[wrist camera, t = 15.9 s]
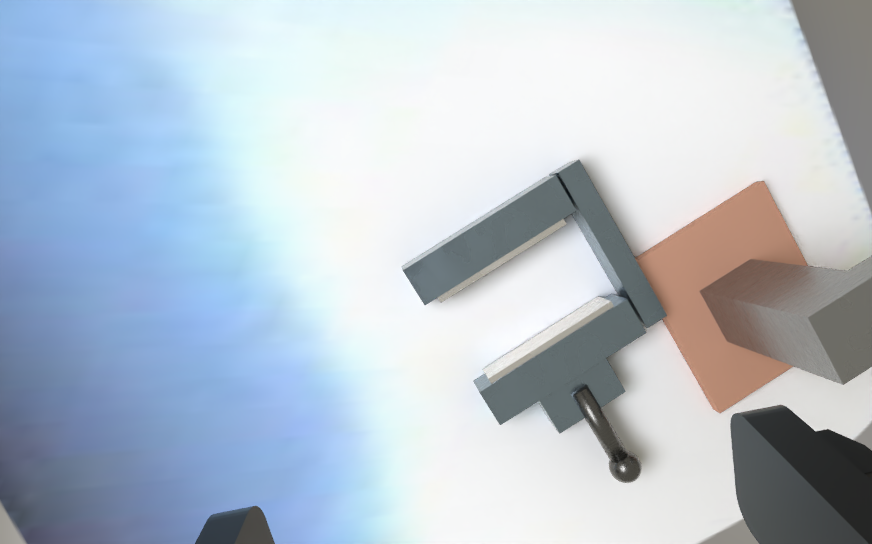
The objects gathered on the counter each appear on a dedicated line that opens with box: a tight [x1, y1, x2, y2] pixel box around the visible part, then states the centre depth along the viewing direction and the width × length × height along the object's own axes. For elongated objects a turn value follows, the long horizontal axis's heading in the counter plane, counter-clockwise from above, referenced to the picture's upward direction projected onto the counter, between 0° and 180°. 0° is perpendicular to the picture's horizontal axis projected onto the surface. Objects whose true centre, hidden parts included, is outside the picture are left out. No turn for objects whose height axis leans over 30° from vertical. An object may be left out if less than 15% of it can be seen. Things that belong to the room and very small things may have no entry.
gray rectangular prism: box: [700, 256, 872, 385], centre depth 34 cm, size 4×7×10 cm, turn 121°
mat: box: [635, 181, 808, 413], centre depth 39 cm, size 12×10×1 cm
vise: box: [402, 160, 667, 483], centre depth 38 cm, size 20×13×3 cm, turn 32°
